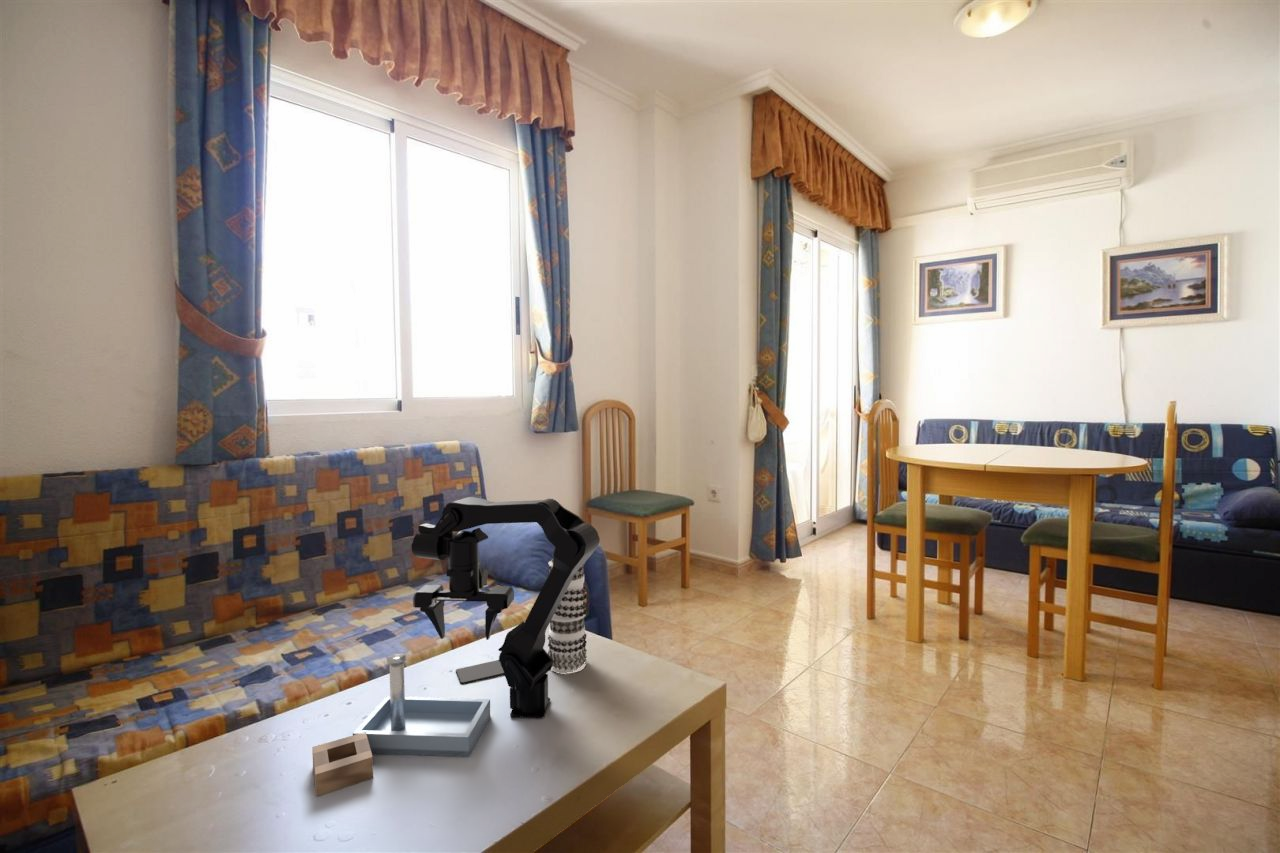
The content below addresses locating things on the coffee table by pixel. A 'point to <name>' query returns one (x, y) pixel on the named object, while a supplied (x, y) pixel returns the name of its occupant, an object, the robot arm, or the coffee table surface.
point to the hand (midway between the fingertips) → (465, 638)
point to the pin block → (342, 763)
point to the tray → (428, 726)
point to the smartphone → (479, 672)
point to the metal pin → (397, 691)
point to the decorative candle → (569, 627)
